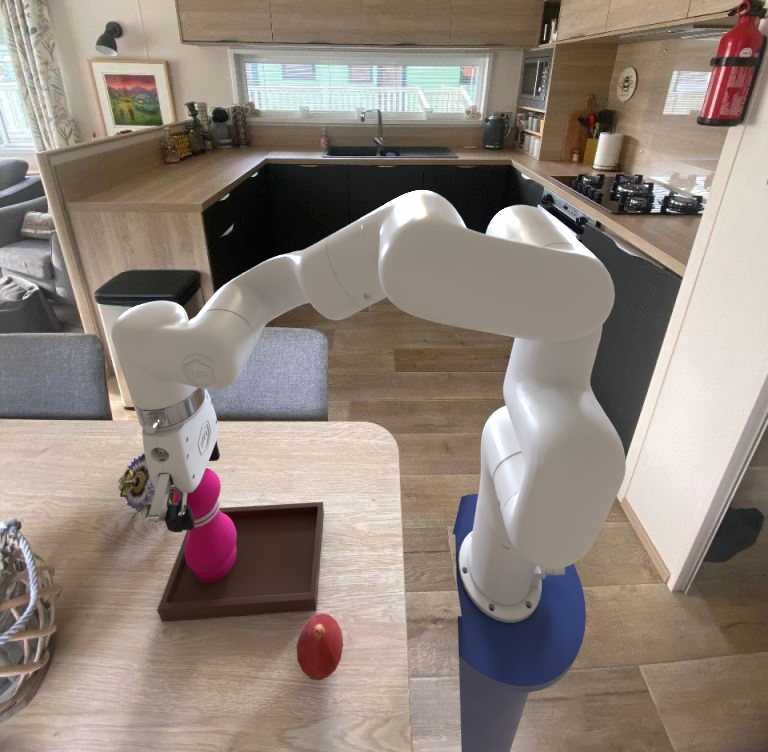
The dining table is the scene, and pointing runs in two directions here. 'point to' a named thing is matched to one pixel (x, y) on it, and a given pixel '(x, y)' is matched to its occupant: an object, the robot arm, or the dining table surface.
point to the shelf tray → (255, 567)
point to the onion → (319, 647)
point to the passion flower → (139, 487)
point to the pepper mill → (209, 532)
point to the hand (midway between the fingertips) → (196, 490)
